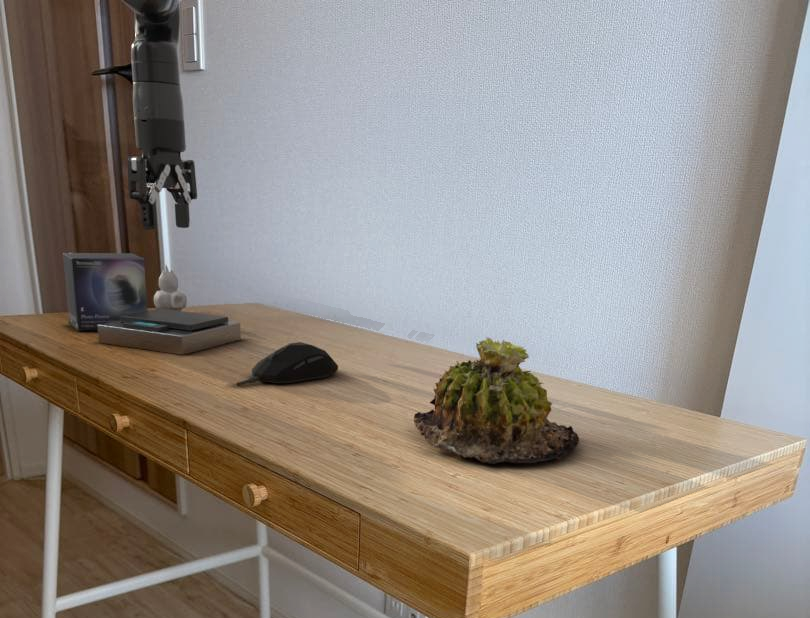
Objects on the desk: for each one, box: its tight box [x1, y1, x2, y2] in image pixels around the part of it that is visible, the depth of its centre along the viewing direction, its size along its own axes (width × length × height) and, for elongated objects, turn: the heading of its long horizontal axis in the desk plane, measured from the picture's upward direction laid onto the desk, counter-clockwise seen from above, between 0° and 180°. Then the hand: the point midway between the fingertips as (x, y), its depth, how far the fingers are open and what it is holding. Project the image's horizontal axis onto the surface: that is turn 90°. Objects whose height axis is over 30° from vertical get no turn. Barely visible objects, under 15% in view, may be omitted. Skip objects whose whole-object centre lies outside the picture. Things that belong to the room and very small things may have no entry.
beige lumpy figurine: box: [153, 264, 188, 311], centre depth 139 cm, size 5×7×8 cm
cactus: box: [413, 336, 580, 465], centre depth 79 cm, size 17×16×10 cm
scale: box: [97, 320, 242, 356], centre depth 118 cm, size 14×14×3 cm
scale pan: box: [120, 308, 229, 331], centre depth 118 cm, size 12×9×1 cm
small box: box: [62, 252, 148, 332], centre depth 124 cm, size 11×6×10 cm, turn 122°
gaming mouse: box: [236, 341, 339, 387], centre depth 100 cm, size 6×15×4 cm, turn 138°
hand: (166, 228), depth 135 cm, fingers open, 8 cm apart
